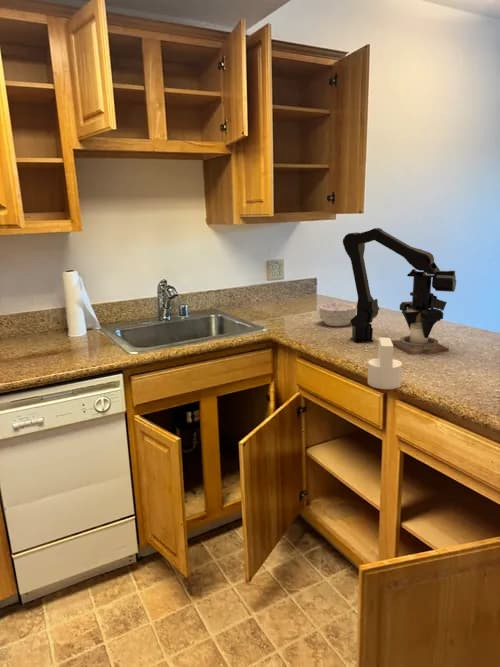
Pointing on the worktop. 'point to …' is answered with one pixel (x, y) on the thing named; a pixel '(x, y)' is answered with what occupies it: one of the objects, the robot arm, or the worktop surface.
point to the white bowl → (337, 313)
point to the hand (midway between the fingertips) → (419, 334)
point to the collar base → (415, 351)
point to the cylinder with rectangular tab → (384, 367)
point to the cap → (417, 334)
